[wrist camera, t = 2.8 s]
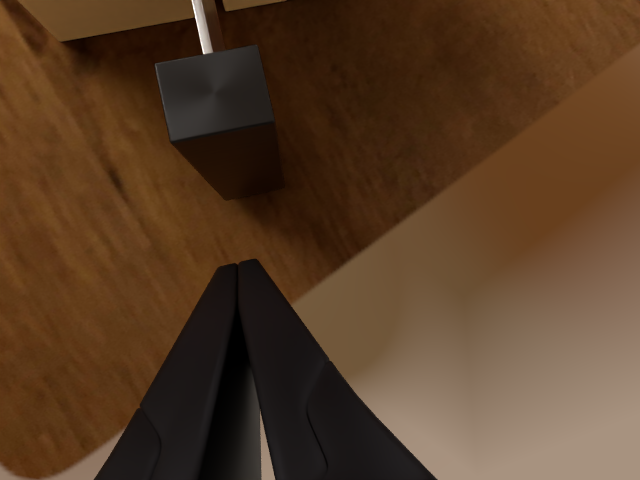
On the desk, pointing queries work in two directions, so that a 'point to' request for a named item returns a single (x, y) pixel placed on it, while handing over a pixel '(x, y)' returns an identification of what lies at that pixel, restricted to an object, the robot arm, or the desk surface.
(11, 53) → the desk surface
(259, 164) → the cake knife
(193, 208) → the desk surface
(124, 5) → the loaf cake
